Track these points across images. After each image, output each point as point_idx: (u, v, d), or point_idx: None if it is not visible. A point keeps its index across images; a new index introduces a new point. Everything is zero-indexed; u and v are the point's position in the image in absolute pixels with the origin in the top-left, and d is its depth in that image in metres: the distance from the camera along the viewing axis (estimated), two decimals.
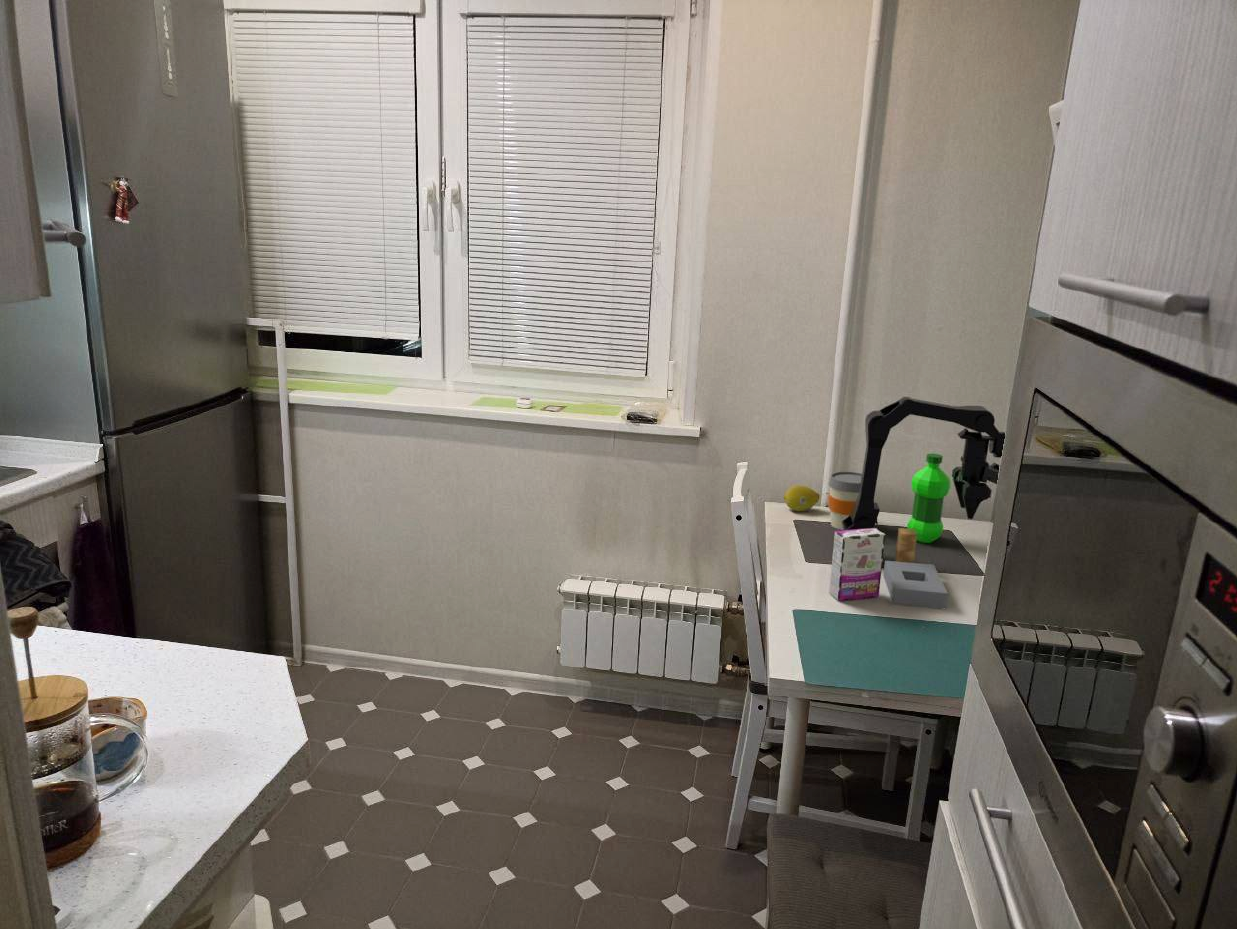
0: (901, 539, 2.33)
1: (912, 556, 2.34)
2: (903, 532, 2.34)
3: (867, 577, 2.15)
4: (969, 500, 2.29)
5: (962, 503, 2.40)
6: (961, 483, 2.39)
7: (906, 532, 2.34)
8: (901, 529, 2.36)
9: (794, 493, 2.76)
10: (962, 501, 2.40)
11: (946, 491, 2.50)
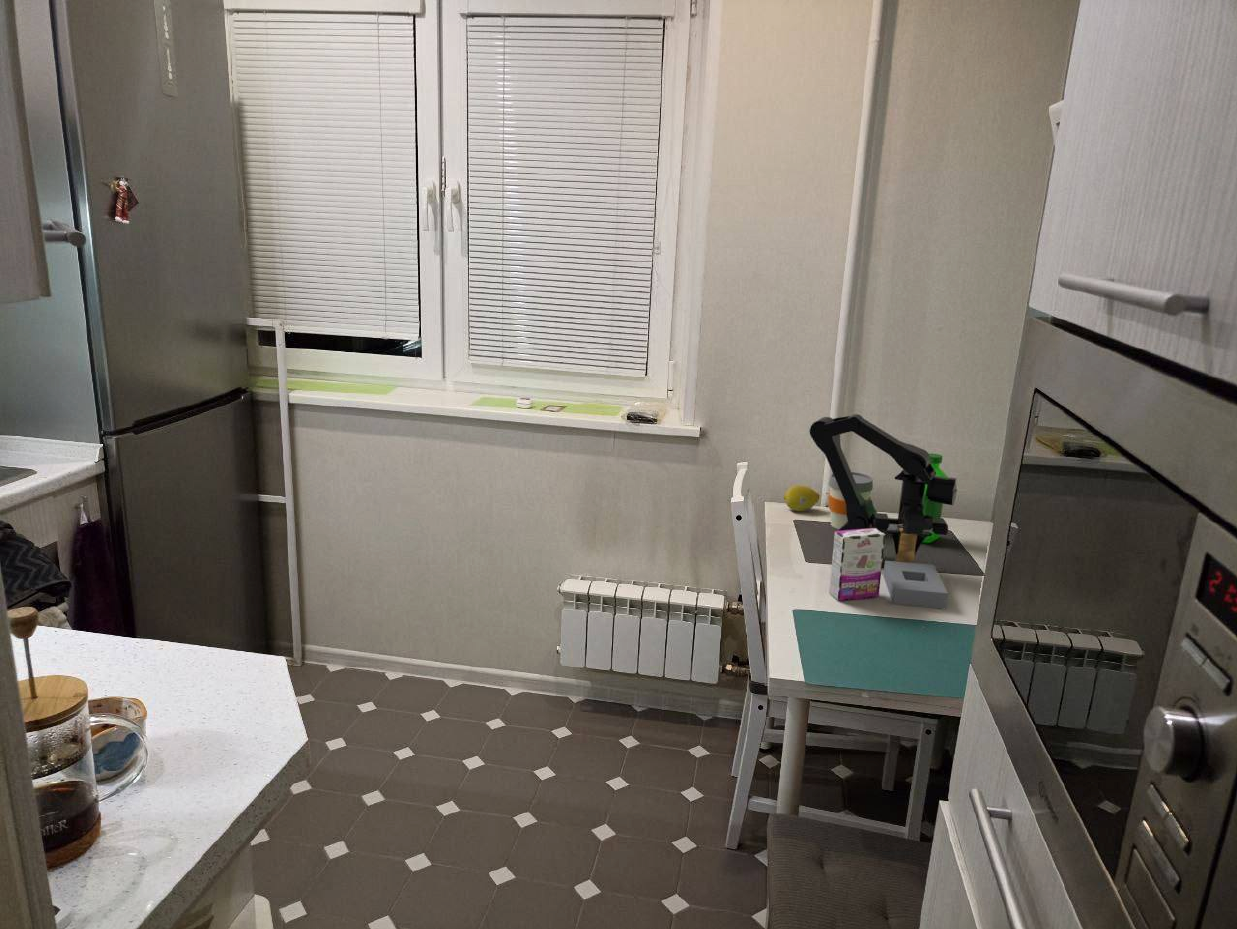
0: (901, 539, 2.33)
1: (912, 556, 2.34)
2: (903, 532, 2.34)
3: (867, 577, 2.15)
4: None
5: None
6: None
7: None
8: (901, 529, 2.36)
9: (794, 493, 2.76)
10: None
11: None
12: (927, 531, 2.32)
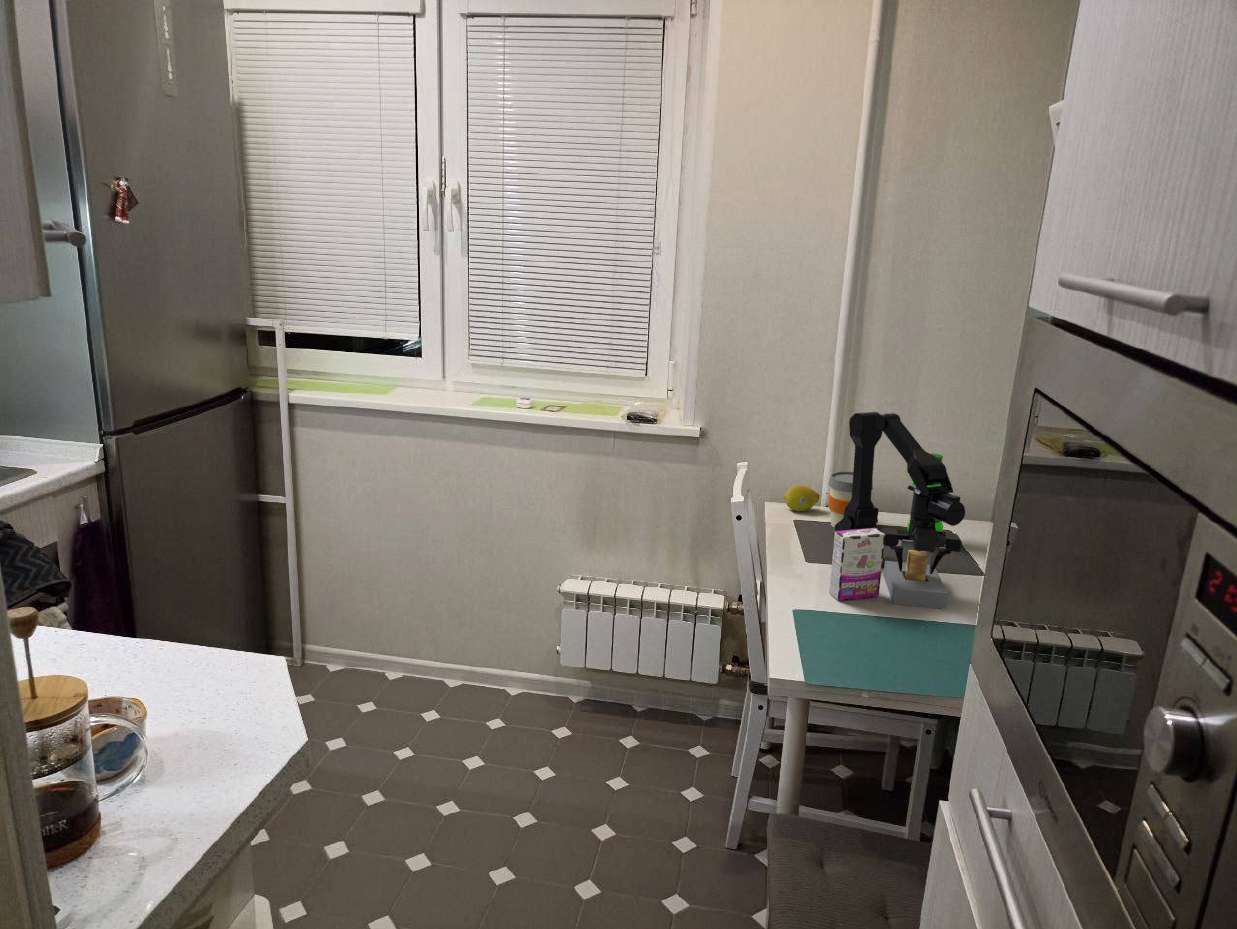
0: (911, 562, 2.18)
1: (923, 580, 2.19)
2: (913, 554, 2.19)
3: (867, 577, 2.15)
4: None
5: (930, 568, 2.20)
6: None
7: (916, 554, 2.19)
8: (911, 551, 2.21)
9: (794, 493, 2.76)
10: (930, 566, 2.20)
11: None
12: (946, 548, 2.17)
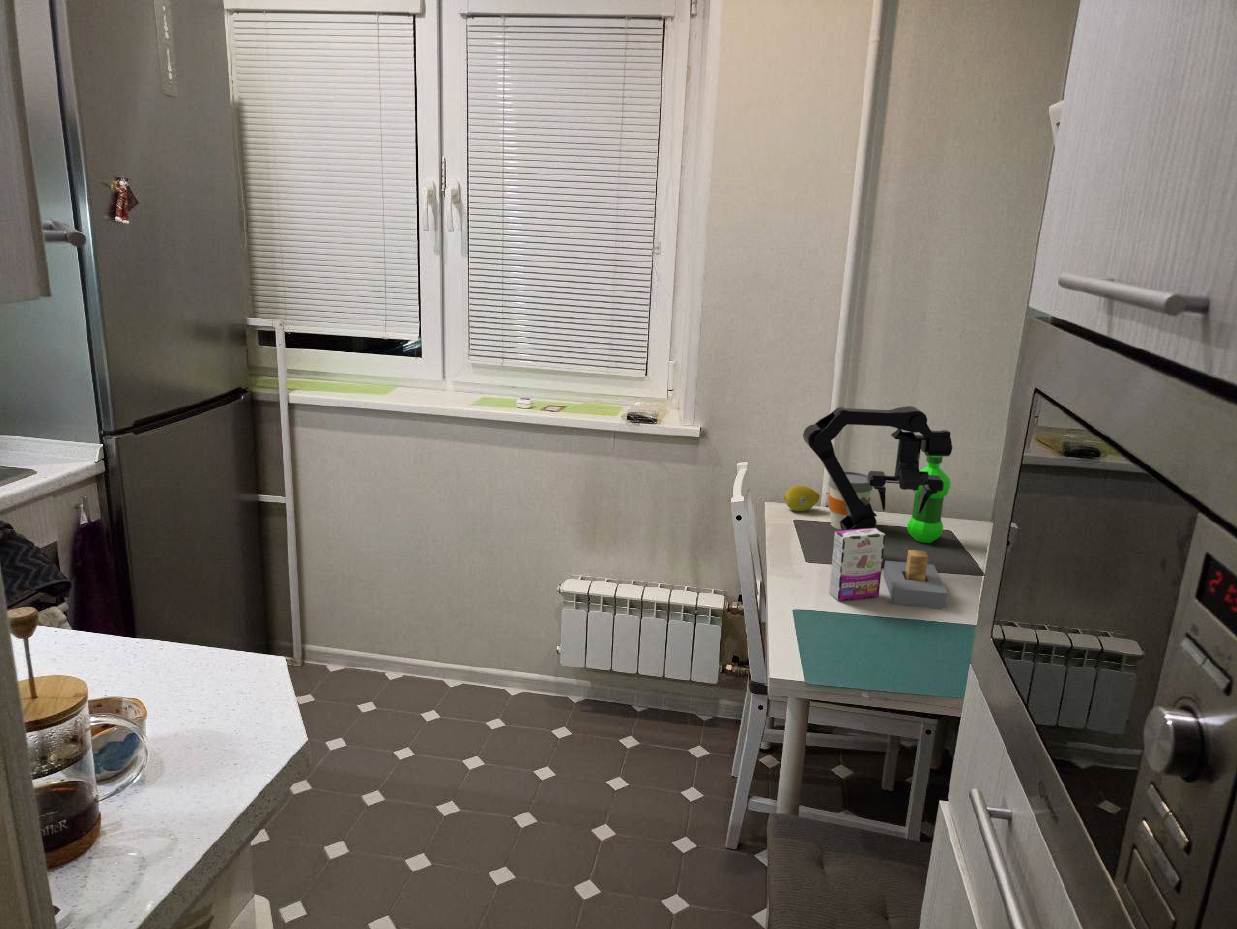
0: (911, 562, 2.18)
1: (923, 580, 2.19)
2: (913, 554, 2.19)
3: (867, 577, 2.15)
4: None
5: (918, 508, 2.40)
6: (923, 488, 2.39)
7: (916, 554, 2.19)
8: (911, 551, 2.21)
9: (794, 493, 2.76)
10: (919, 506, 2.40)
11: (946, 491, 2.50)
12: None
